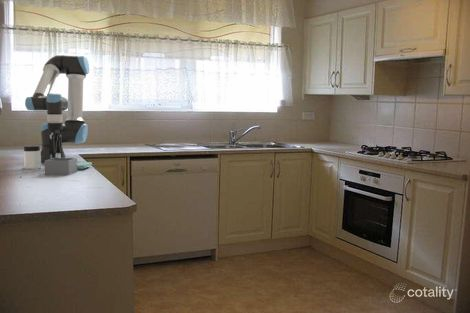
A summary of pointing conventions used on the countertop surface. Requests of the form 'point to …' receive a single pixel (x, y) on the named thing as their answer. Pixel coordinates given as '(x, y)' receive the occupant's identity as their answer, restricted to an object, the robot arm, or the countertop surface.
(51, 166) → the tub
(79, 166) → the teal t-shaped block
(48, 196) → the countertop surface
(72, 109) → the robot arm
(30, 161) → the jar
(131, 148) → the countertop surface
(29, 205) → the countertop surface
